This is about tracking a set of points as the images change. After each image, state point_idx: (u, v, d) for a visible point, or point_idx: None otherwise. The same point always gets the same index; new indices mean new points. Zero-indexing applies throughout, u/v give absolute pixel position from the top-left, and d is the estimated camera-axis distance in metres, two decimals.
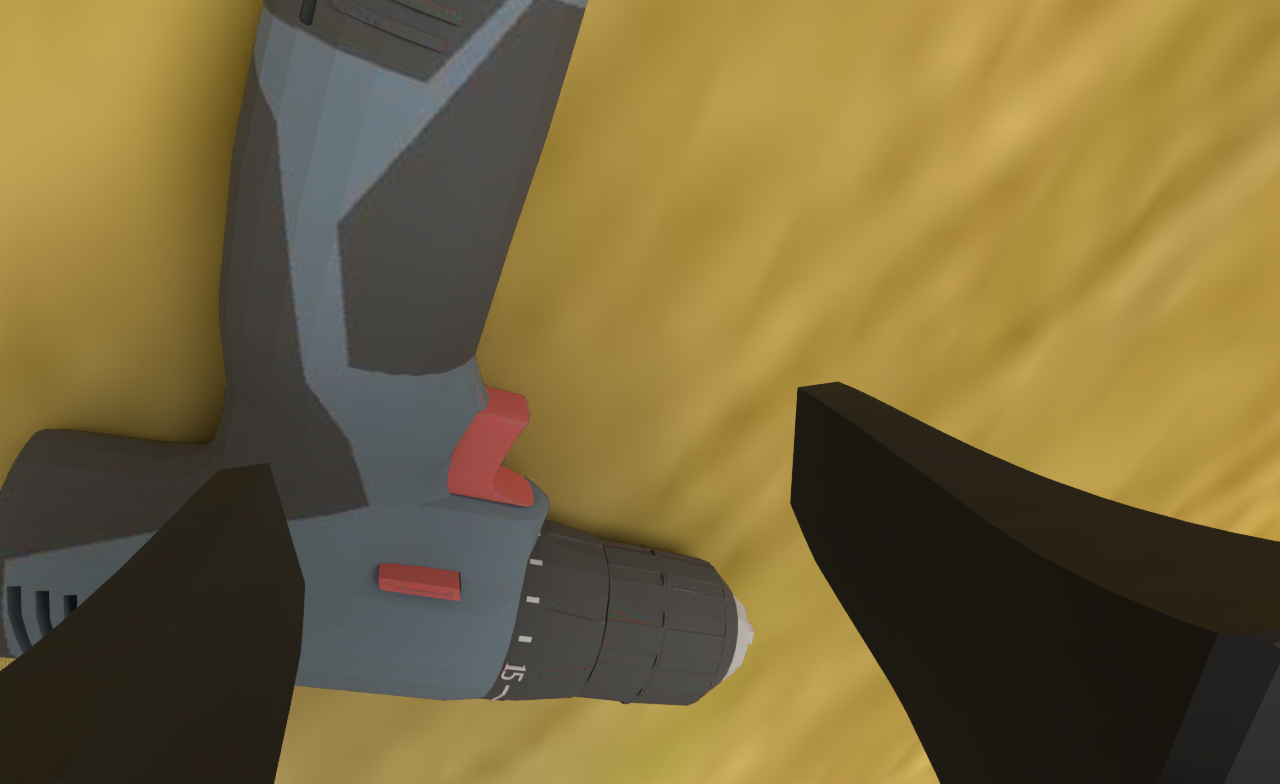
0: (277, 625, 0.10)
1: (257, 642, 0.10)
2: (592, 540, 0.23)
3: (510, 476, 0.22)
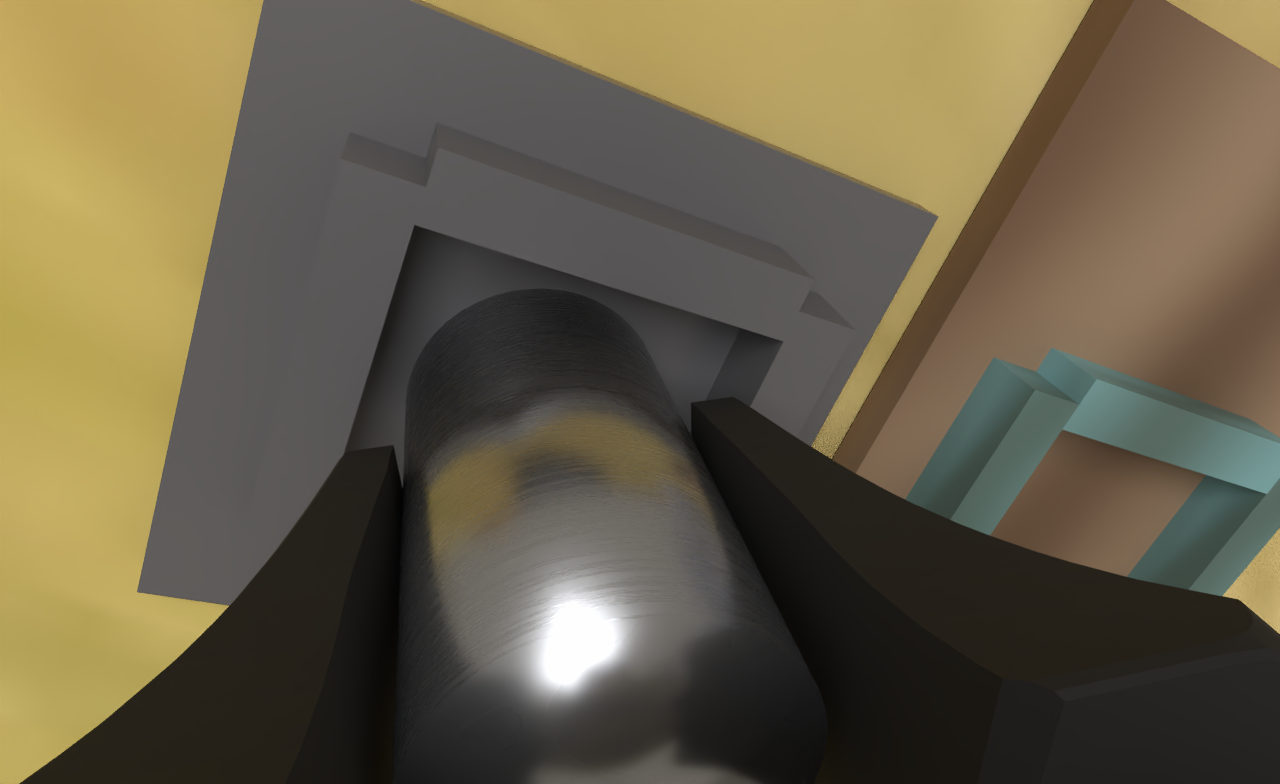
0: None
1: (397, 617, 0.10)
2: None
3: None
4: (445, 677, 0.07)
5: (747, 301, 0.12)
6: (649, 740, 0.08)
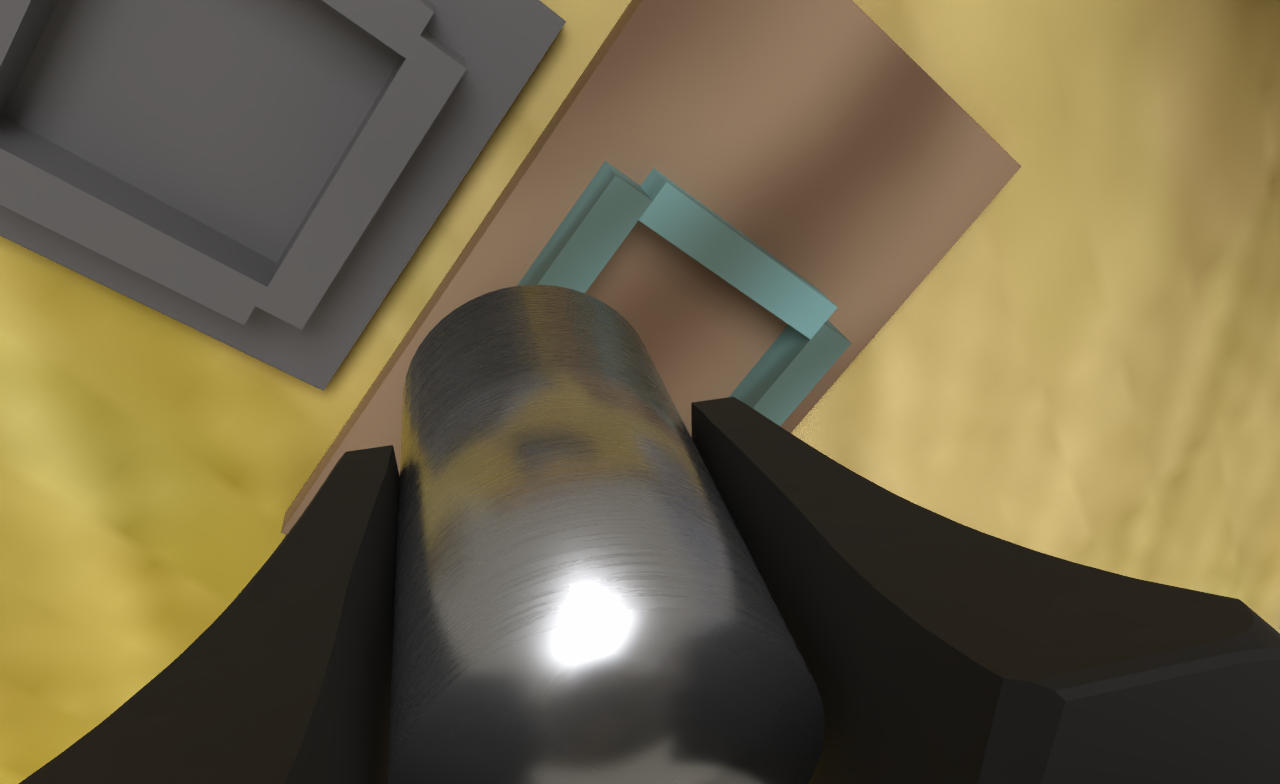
0: None
1: None
2: None
3: None
4: (435, 677, 0.07)
5: (377, 11, 0.16)
6: (642, 736, 0.08)
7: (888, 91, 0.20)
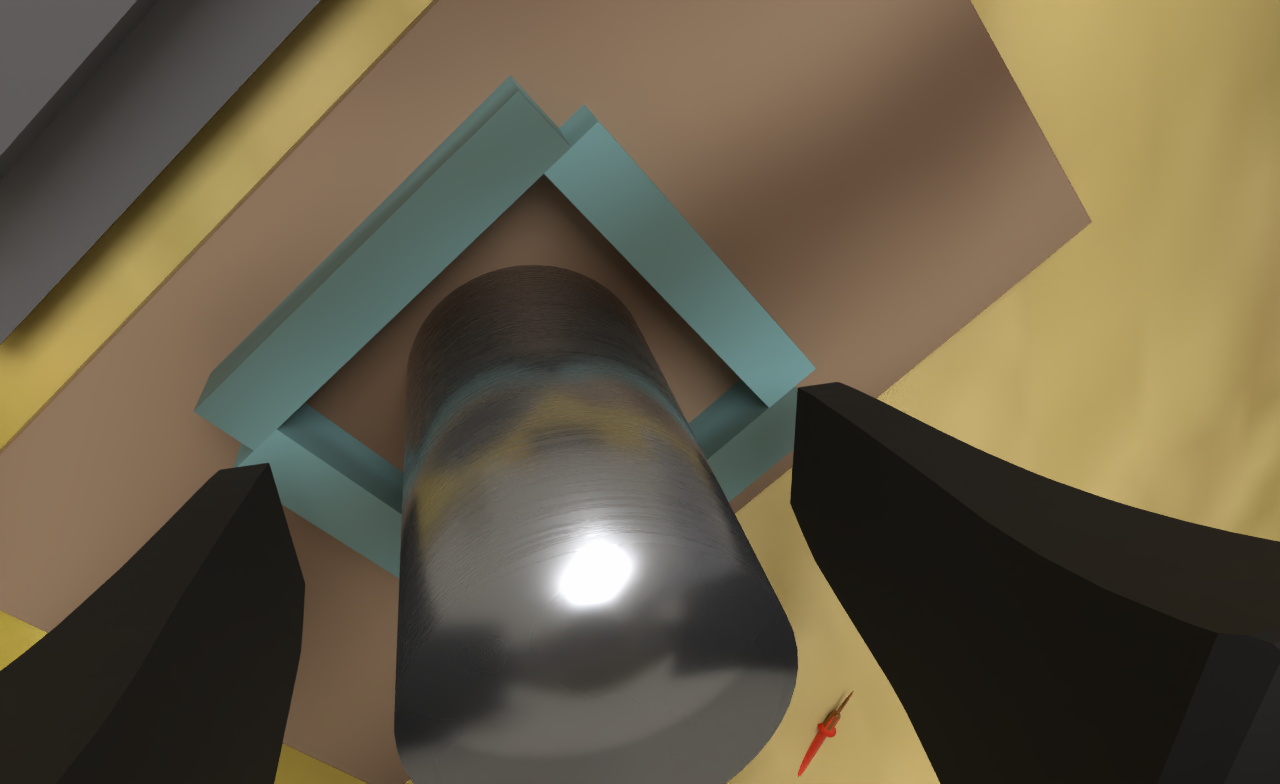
0: (277, 625, 0.10)
1: (257, 642, 0.10)
2: None
3: None
4: (435, 609, 0.08)
5: None
6: (627, 666, 0.08)
7: (944, 70, 0.13)
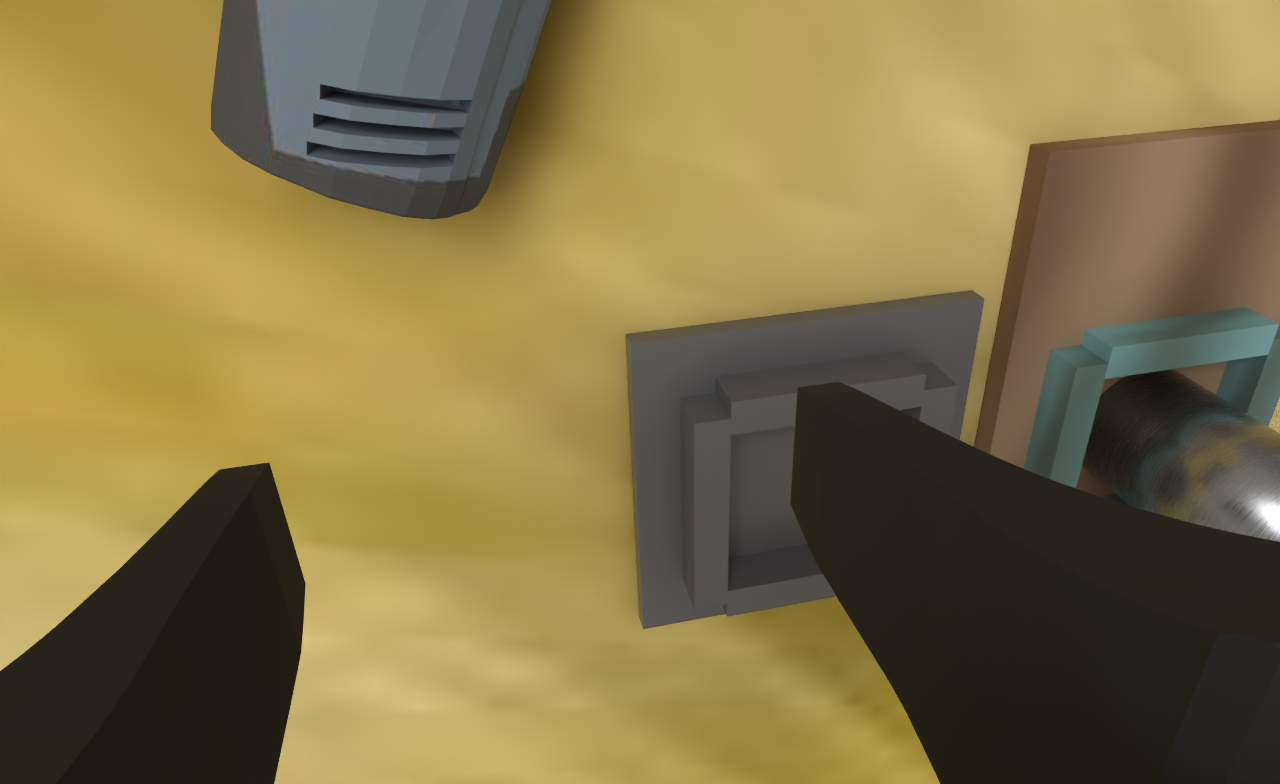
0: (276, 625, 0.10)
1: (257, 642, 0.10)
2: None
3: None
4: None
5: (895, 398, 0.23)
6: None
7: (1235, 163, 0.23)
